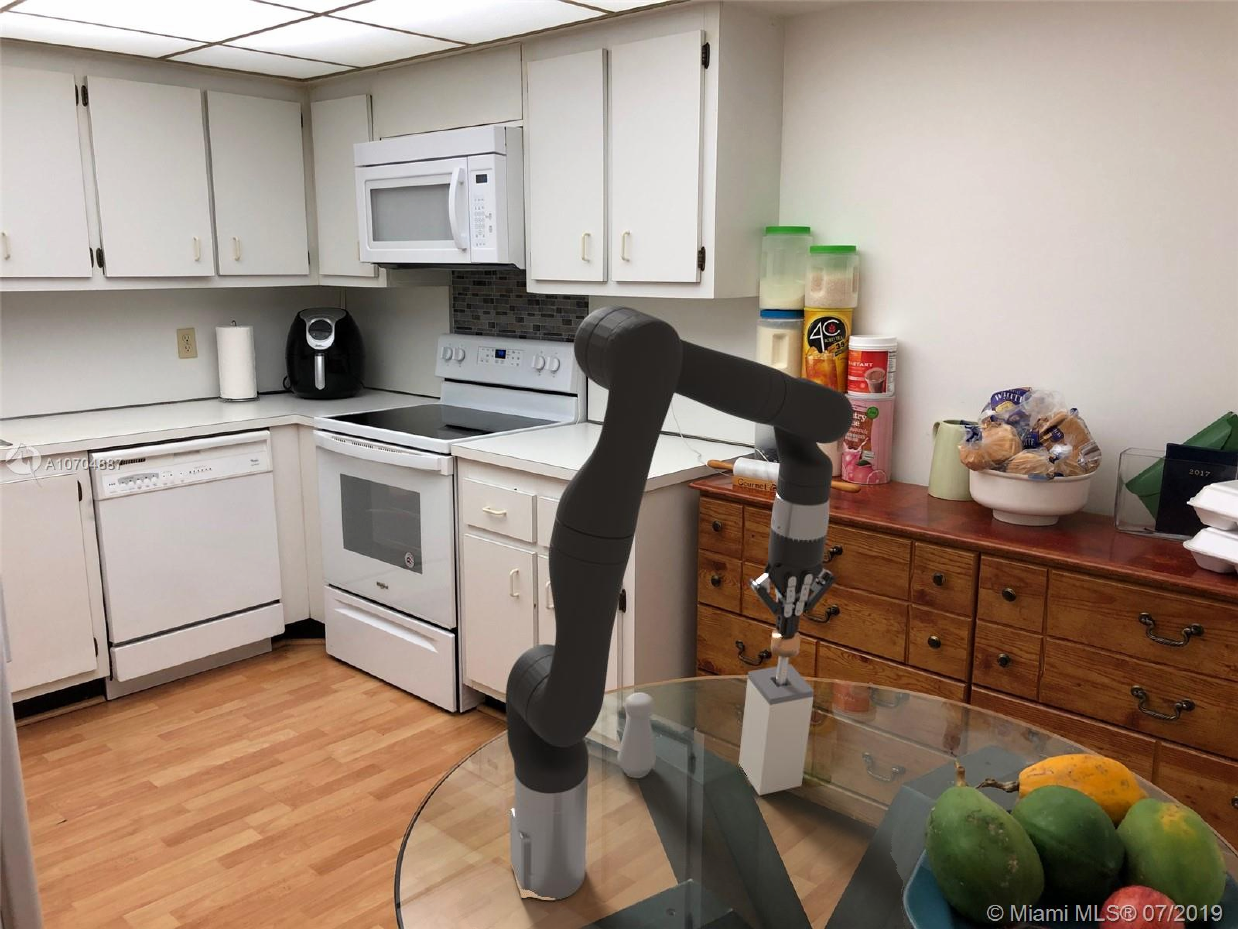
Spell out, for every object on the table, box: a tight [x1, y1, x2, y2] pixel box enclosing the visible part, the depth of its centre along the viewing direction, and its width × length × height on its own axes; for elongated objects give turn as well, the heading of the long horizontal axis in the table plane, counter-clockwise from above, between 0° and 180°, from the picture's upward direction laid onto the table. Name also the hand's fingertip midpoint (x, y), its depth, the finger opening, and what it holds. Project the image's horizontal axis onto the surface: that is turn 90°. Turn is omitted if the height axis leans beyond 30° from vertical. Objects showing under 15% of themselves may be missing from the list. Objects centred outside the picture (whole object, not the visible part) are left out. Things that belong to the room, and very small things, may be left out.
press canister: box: [738, 663, 815, 796], centre depth 144 cm, size 7×7×17 cm
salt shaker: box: [617, 692, 657, 777], centre depth 145 cm, size 6×6×13 cm
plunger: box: [770, 628, 801, 687], centre depth 141 cm, size 4×4×17 cm
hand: (786, 635), depth 138 cm, fingers closed
